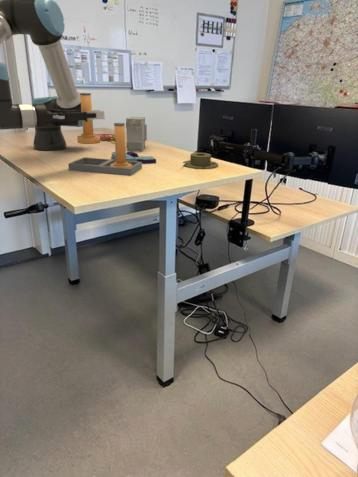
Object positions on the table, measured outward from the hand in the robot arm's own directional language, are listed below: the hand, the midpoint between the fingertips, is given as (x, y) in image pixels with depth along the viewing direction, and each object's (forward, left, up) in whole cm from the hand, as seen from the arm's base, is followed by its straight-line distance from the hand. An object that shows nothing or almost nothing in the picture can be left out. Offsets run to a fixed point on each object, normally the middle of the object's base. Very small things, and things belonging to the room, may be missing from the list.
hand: (101, 114), depth 129 cm
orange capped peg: (+8, -4, -19) cm, 21 cm away
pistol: (+7, +14, -21) cm, 26 cm away
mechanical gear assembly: (-26, +62, -21) cm, 70 cm away
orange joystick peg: (-4, -4, -9) cm, 11 cm away
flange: (+34, +20, -21) cm, 44 cm away
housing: (+2, -4, -20) cm, 21 cm away
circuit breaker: (-2, +44, -20) cm, 49 cm away
